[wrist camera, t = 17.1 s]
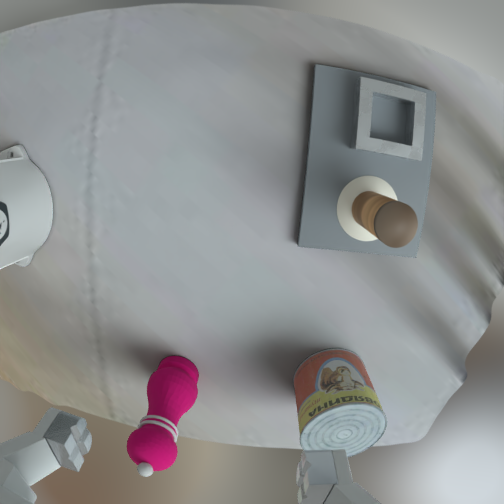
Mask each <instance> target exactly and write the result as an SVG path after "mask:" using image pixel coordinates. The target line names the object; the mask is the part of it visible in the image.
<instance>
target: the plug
mask: <svg viewBox="0 0 504 504" xmlns="http://www.w3.org/2000/svg"><path fill="white" fill-rule="evenodd" d="M352 215H353V218H354V220H355V221H356V222H357V223H358V224H359V225H360V226H362V227H363V228H364V229H366V230H367V231H368V232H370V233H371V234H372V235H374V236H375V237H376V238H378V239H379V240H380V241H381V242H383V243H384V244H385V245H387V246H389V247H392V248H400V247H403V246H405V245H407V244H408V243H409V242H410V241H411V240H412V239H413V238H414V236H415V234H416V232H417V228H418V220H417V216H416V213H415V211H414V210H413V209H412V208H411V207H410V206H409V205H407V204H405V203H403V202H400V201H397V200H395V199H392V198H389V197H387V196H384V195H381V194H378V193H376V192H373V191H365V192H362V193H360V194H359V195H358V196H357V197H356V198H355V200H354V201H353V204H352Z"/></svg>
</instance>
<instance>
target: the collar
mask: <svg viewBox="0 0 504 504" xmlns="http://www.w3.org/2000/svg"><path fill="white" fill-rule="evenodd" d="M373 96H374V97H378V98H383V99H387V100H391V101H396V102H400V103H404V104H407V109H406V125H405V138H404V144H400V143H395V142H391V141H386V140H381V139H376V138H370V128H371V115H372V99H373ZM425 114H426V93H424V92H420V91H417V90H414V89H410V88H406V87H403V86H399V85H395V84H391V83H387V82H383V81H379V80H374V79H370V78H365V77H360V78H358V79H357V80H356V81H355V91H354V107H353V120H352V133H351V144H350V149H355V150H361V151H367V152H373V153H378V154H384V155H389V156H394V157H399V158H404V159H409V160H414V161H422V154H423V143H424V130H425Z"/></svg>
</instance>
